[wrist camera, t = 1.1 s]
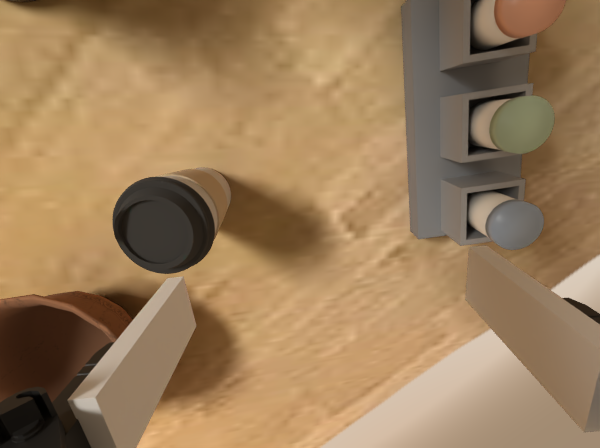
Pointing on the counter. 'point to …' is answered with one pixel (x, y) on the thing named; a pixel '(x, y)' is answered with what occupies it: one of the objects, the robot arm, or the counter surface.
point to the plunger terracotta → (510, 20)
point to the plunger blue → (504, 219)
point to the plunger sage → (511, 124)
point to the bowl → (53, 338)
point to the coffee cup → (171, 218)
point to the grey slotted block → (455, 116)
